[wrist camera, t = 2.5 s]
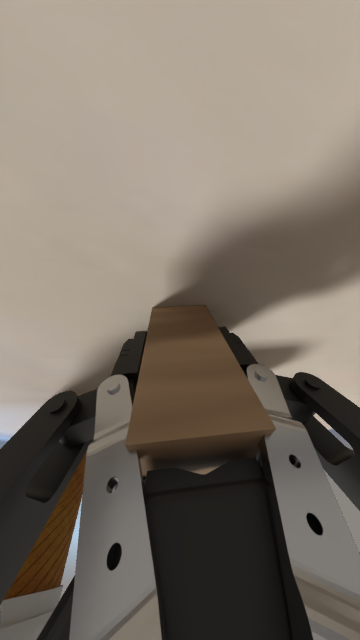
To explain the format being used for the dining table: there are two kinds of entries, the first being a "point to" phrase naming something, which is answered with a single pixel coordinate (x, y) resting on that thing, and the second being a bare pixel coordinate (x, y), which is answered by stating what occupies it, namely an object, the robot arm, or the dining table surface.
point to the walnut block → (192, 397)
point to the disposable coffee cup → (43, 569)
